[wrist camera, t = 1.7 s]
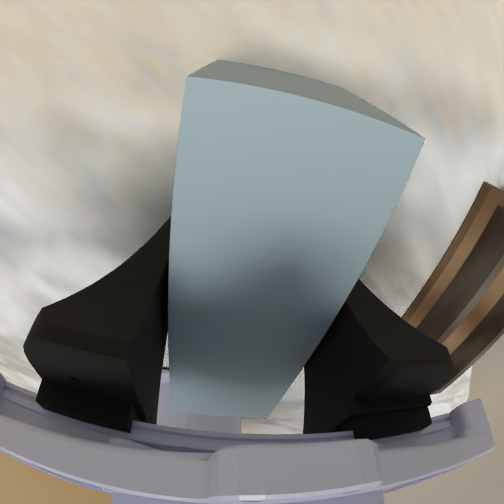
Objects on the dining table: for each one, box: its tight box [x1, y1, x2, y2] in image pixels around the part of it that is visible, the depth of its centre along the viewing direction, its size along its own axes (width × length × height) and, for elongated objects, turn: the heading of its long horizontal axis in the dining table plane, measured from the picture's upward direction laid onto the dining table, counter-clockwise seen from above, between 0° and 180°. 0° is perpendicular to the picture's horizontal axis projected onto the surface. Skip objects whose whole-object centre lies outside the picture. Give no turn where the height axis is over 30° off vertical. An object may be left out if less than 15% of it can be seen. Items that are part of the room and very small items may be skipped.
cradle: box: [402, 182, 504, 395], centre depth 17 cm, size 18×10×3 cm, turn 169°
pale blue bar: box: [168, 60, 425, 419], centre depth 11 cm, size 13×4×6 cm, turn 168°
